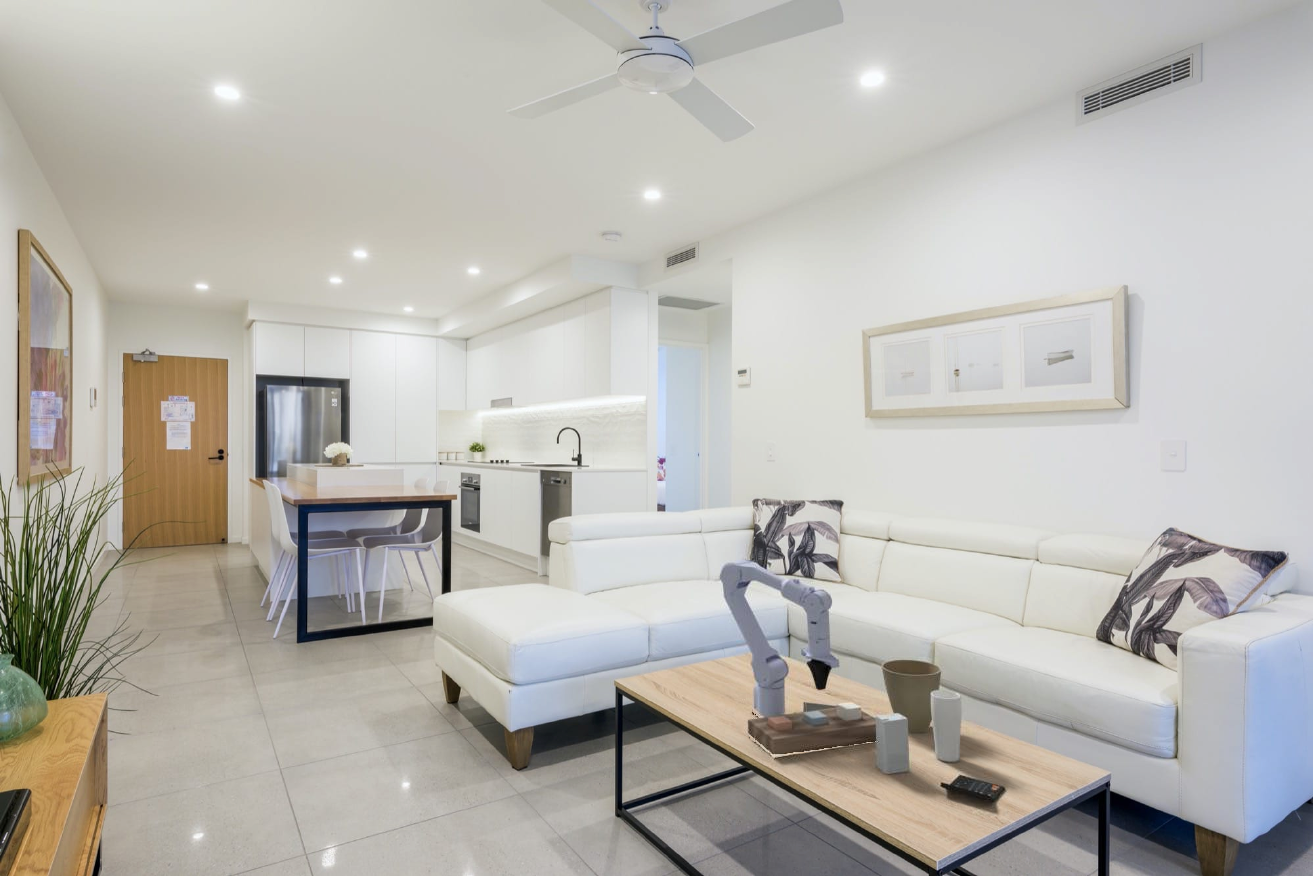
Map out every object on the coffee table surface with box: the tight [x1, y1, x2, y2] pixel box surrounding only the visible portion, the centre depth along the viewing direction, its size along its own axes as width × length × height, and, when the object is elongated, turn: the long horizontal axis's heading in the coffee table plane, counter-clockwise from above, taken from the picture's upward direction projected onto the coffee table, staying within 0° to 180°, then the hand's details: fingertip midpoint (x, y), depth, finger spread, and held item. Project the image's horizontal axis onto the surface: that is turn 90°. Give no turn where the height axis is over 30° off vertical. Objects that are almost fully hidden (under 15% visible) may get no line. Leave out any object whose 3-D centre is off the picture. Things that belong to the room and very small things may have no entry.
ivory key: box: [836, 701, 862, 721], centre depth 184 cm, size 4×4×4 cm
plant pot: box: [881, 659, 942, 733], centre depth 188 cm, size 15×15×16 cm
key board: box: [747, 706, 876, 754], centre depth 181 cm, size 14×31×4 cm, turn 108°
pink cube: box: [768, 716, 792, 731], centre depth 178 cm, size 4×4×4 cm
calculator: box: [940, 774, 1006, 804], centre depth 151 cm, size 9×12×3 cm
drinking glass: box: [931, 689, 963, 763], centre depth 168 cm, size 7×7×15 cm
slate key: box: [803, 710, 827, 726], centre depth 181 cm, size 4×4×4 cm
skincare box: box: [875, 713, 910, 775], centre depth 163 cm, size 6×4×12 cm
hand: (820, 688), depth 188 cm, fingers closed
